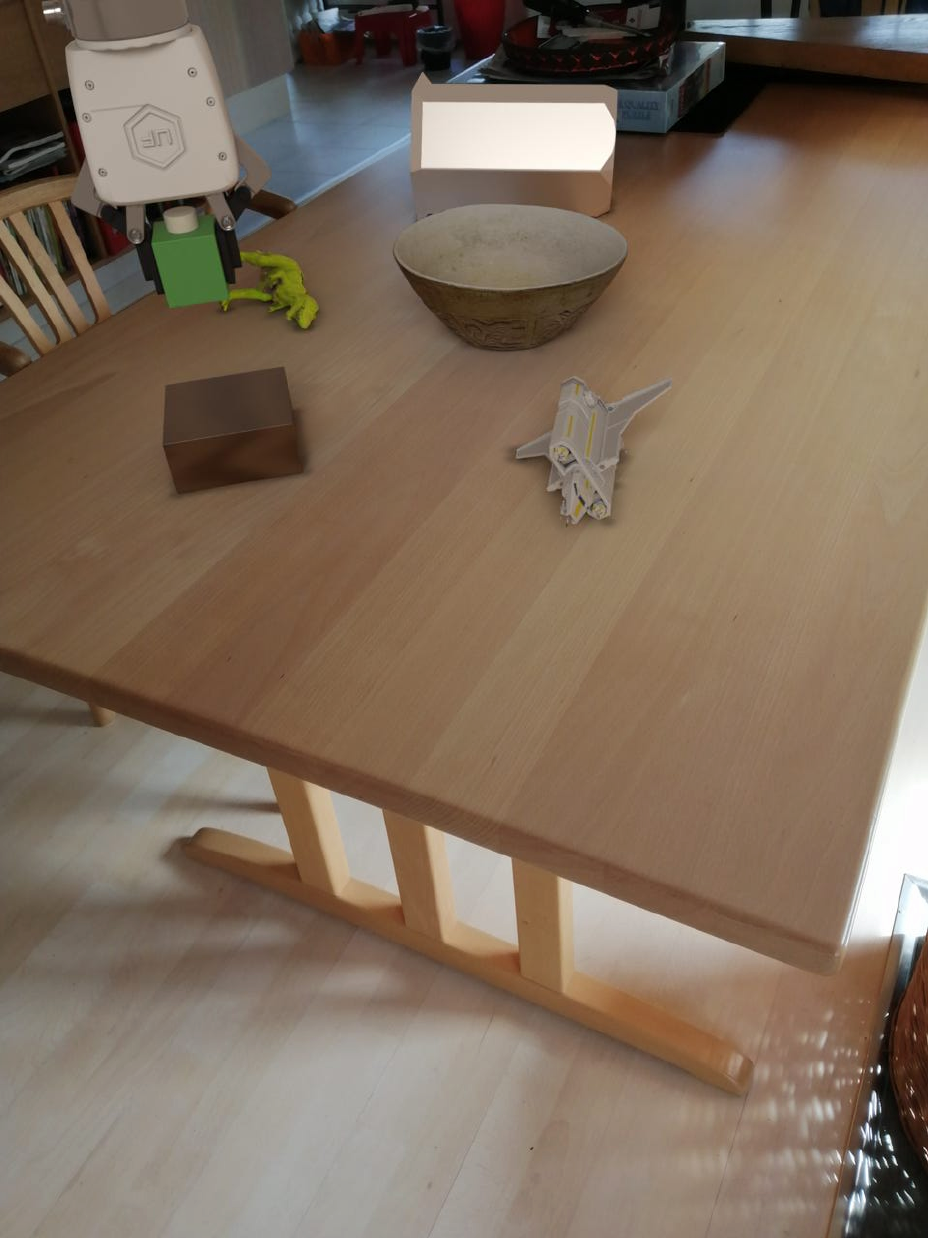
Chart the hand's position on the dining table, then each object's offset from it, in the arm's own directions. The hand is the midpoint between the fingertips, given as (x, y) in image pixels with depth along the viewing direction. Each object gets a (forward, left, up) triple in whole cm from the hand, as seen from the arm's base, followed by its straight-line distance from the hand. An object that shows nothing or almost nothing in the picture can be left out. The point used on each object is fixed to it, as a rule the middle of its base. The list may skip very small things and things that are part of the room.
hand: (196, 280), depth 77 cm
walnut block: (-1, +4, -18) cm, 18 cm away
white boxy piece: (+38, +55, -18) cm, 70 cm away
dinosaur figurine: (+5, +38, -18) cm, 42 cm away
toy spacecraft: (+27, -13, -18) cm, 35 cm away
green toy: (0, 0, -1) cm, 1 cm away
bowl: (+29, +20, -18) cm, 40 cm away
